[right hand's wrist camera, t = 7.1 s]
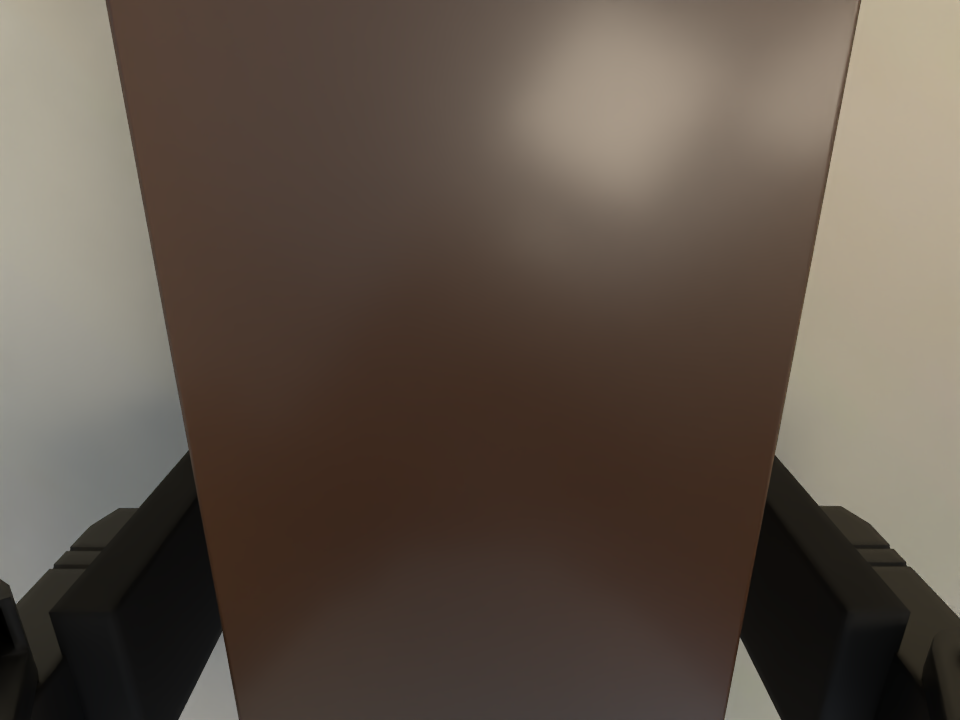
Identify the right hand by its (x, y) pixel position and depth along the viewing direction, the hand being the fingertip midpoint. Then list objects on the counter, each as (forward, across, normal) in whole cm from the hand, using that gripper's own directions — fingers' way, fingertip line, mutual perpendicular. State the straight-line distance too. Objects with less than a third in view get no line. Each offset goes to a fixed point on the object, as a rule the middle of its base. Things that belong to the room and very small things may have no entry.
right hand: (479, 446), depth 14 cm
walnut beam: (0, 0, -12) cm, 12 cm away
